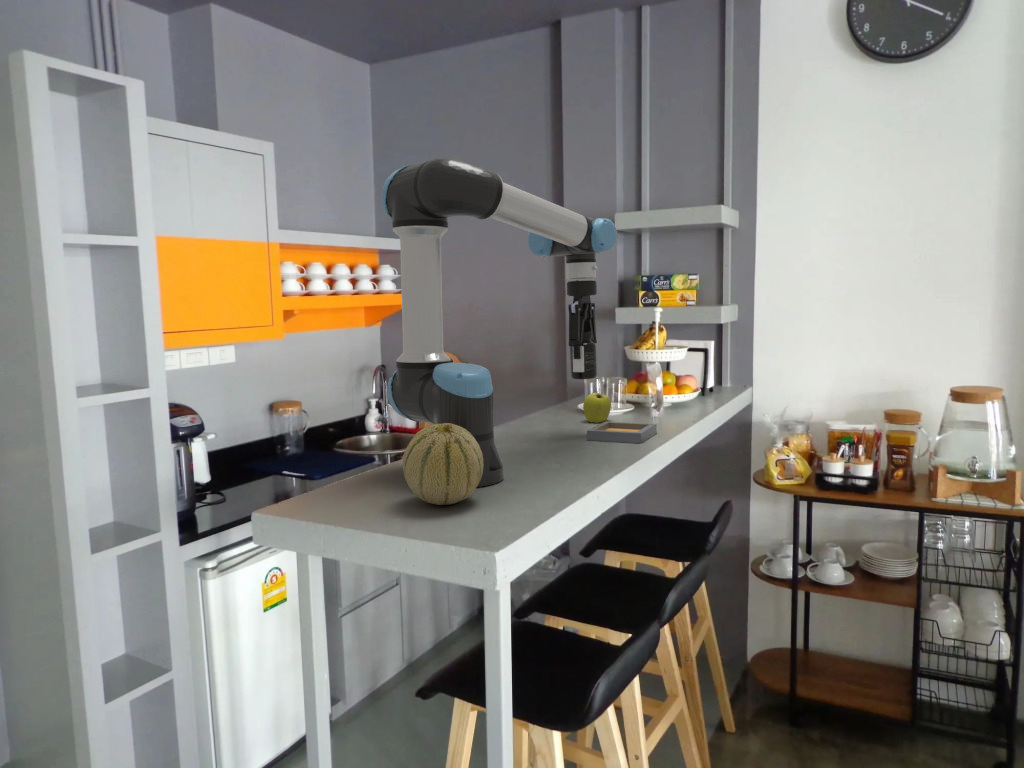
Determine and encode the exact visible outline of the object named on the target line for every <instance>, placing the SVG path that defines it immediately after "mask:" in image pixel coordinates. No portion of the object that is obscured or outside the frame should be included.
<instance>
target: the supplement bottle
mask: <svg viewBox="0 0 1024 768" xmlns="http://www.w3.org/2000/svg"><path fill="white" fill-rule="evenodd" d="M591 338H592V332H591V331H583V340H582V346H584V372H573V347H572V346H569V364H570V365H569V367H570V371H569V372H570V378H571V379H572V380H591V379H596V378H597V377H598V361H597V360H598V359H597V345H596V344H597V343H594V342H593V341H591Z"/></svg>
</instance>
